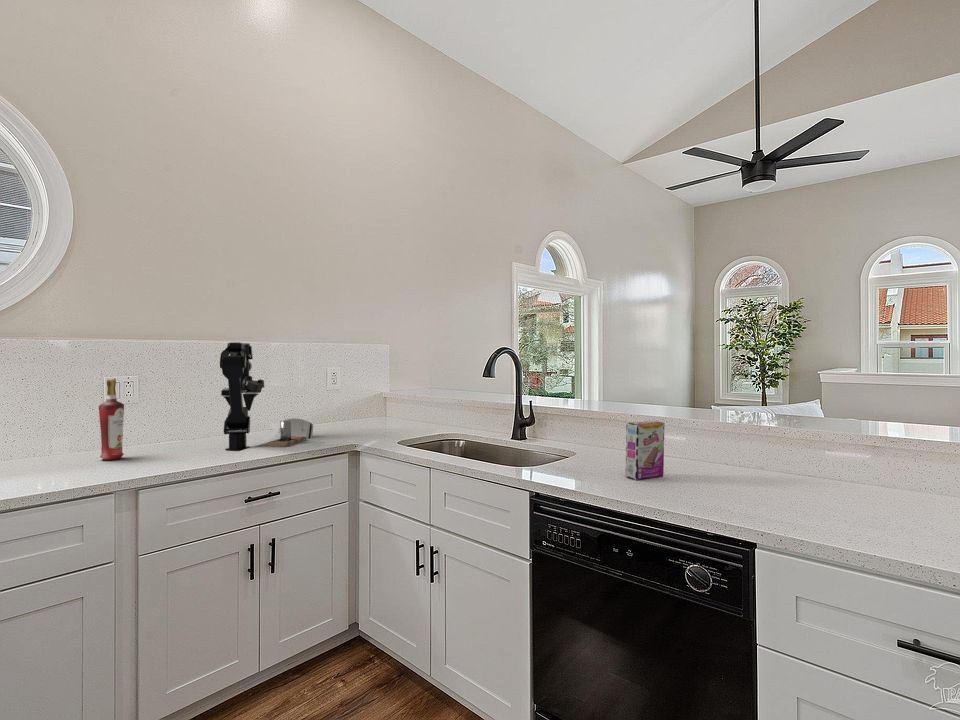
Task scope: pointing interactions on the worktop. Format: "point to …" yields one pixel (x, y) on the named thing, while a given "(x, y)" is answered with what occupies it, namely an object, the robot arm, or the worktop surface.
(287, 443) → the brown slotted block
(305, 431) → the white game console
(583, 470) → the worktop surface
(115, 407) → the liquor
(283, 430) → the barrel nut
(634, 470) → the candy bar box
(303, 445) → the pale green square plate
